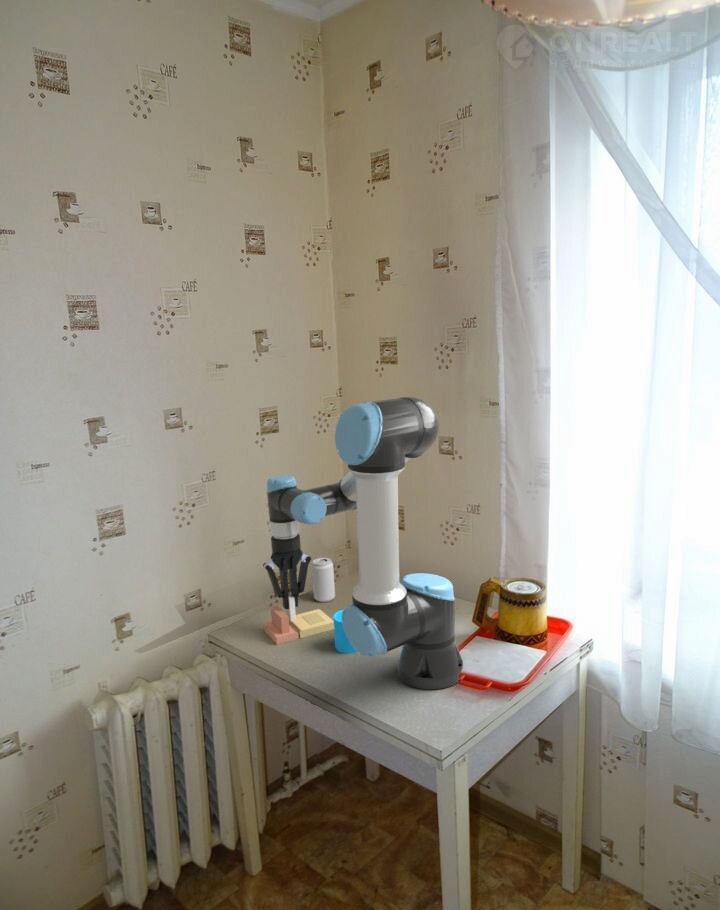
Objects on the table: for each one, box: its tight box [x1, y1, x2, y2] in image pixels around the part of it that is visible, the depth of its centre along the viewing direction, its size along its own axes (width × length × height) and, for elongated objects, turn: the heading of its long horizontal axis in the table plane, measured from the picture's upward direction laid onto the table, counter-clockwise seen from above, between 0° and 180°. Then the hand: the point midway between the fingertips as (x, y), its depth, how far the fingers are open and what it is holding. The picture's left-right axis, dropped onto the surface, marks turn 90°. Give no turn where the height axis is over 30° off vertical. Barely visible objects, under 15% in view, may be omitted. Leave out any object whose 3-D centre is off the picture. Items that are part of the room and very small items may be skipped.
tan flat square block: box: [289, 608, 334, 639], centre depth 183 cm, size 10×10×2 cm
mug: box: [332, 609, 358, 654], centre depth 172 cm, size 12×8×8 cm
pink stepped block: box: [263, 605, 300, 645], centre depth 179 cm, size 10×6×6 cm, turn 27°
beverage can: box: [311, 557, 336, 603], centre depth 200 cm, size 6×6×12 cm
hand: (291, 618), depth 180 cm, fingers closed
